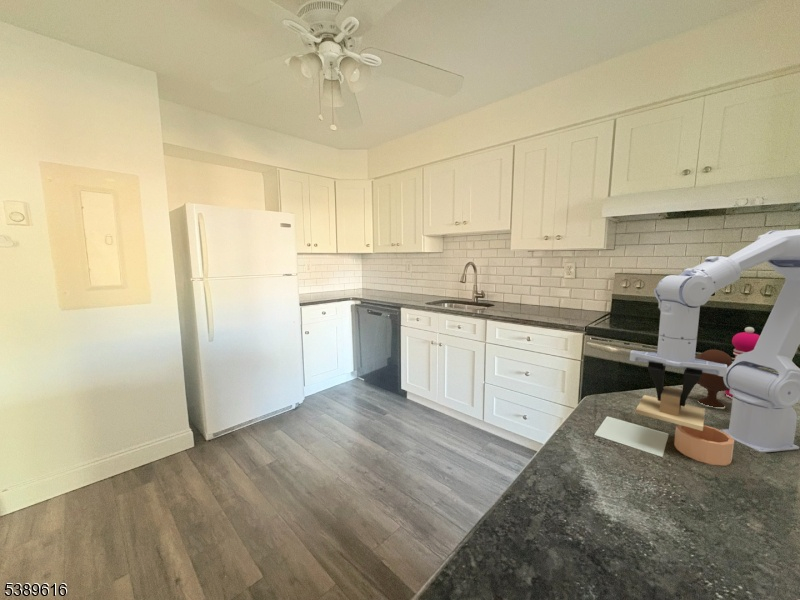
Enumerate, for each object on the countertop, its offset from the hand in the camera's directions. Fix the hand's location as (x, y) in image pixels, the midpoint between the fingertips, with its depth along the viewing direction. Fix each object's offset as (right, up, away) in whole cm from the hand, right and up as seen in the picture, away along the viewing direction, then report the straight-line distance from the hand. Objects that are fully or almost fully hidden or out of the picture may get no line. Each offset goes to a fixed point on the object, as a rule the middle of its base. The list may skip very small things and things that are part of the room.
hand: (671, 401), depth 65 cm
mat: (-5, -9, +5) cm, 11 cm away
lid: (0, -2, 0) cm, 2 cm away
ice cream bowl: (+27, -7, +19) cm, 34 cm away
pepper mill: (+38, -7, +23) cm, 45 cm away
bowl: (+4, -10, -2) cm, 11 cm away
